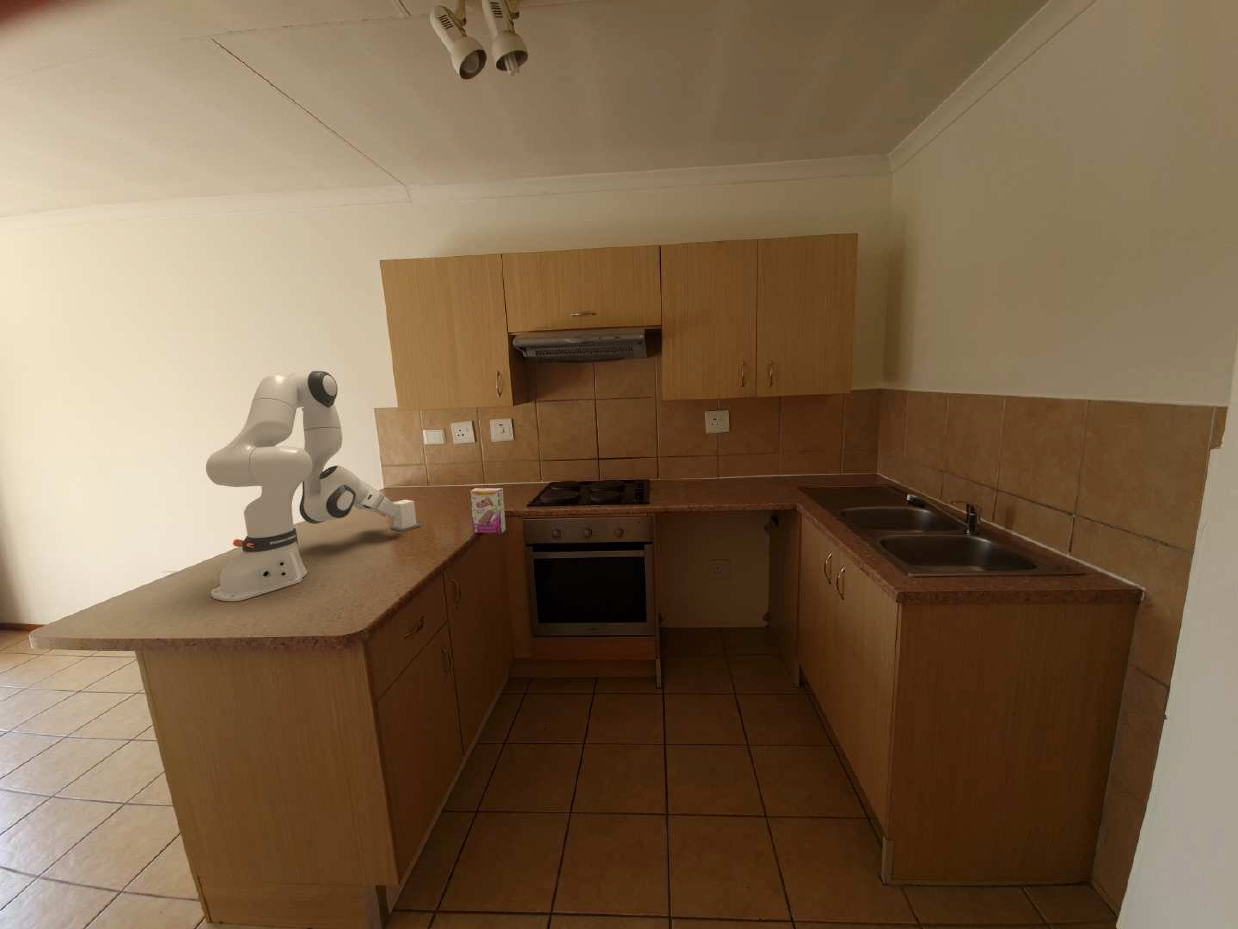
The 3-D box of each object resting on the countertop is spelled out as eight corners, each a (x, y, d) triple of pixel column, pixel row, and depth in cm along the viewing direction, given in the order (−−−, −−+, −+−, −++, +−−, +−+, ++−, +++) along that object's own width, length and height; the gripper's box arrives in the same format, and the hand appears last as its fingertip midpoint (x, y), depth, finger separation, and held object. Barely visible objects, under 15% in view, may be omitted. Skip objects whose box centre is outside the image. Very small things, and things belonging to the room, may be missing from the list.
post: (402, 531, 185) (399, 512, 184) (390, 528, 189) (388, 509, 188) (420, 526, 191) (418, 507, 190) (409, 523, 196) (407, 504, 195)
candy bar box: (472, 534, 179) (469, 491, 177) (477, 530, 184) (474, 488, 182) (502, 534, 178) (498, 490, 176) (506, 530, 183) (503, 487, 180)
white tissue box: (402, 528, 186) (400, 504, 185) (394, 526, 190) (391, 502, 188) (416, 524, 191) (414, 501, 189) (407, 522, 194) (405, 499, 193)
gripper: (343, 500, 180) (372, 519, 190) (372, 507, 169) (401, 527, 178) (354, 486, 183) (382, 506, 193) (383, 492, 172) (411, 513, 181)
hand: (391, 516), depth 185 cm, fingers open, 8 cm apart
